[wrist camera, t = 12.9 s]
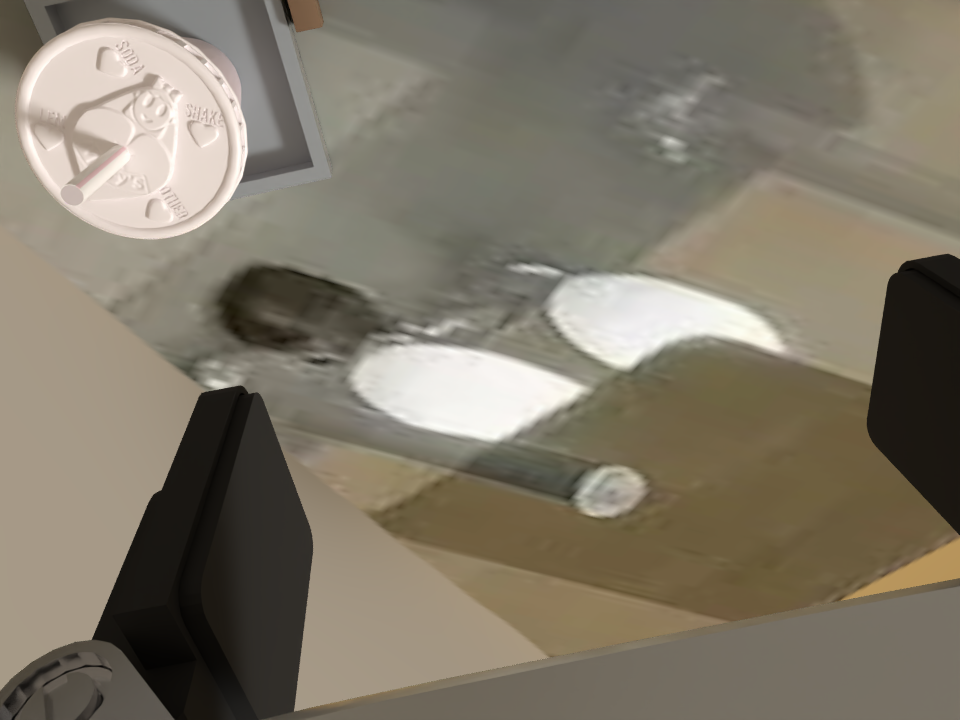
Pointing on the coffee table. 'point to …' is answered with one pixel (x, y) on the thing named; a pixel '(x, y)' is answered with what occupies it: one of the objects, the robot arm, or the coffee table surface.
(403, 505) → the coffee table surface
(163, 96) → the smoothie
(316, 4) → the brown parallel rails
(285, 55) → the tray
